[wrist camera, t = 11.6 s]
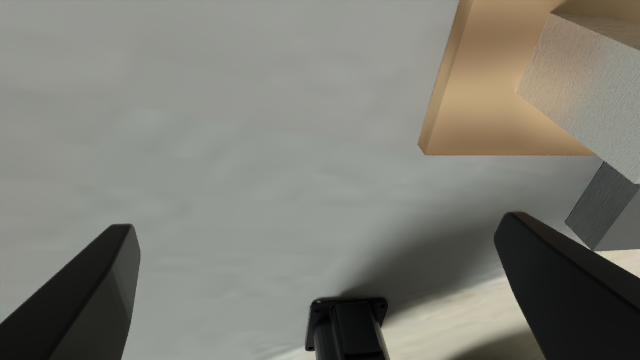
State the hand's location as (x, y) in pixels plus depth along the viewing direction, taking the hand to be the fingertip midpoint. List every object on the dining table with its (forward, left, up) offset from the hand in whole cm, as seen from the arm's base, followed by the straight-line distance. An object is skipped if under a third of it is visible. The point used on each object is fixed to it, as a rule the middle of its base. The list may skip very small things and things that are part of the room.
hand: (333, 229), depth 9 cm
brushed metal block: (+1, -14, -11) cm, 18 cm away
